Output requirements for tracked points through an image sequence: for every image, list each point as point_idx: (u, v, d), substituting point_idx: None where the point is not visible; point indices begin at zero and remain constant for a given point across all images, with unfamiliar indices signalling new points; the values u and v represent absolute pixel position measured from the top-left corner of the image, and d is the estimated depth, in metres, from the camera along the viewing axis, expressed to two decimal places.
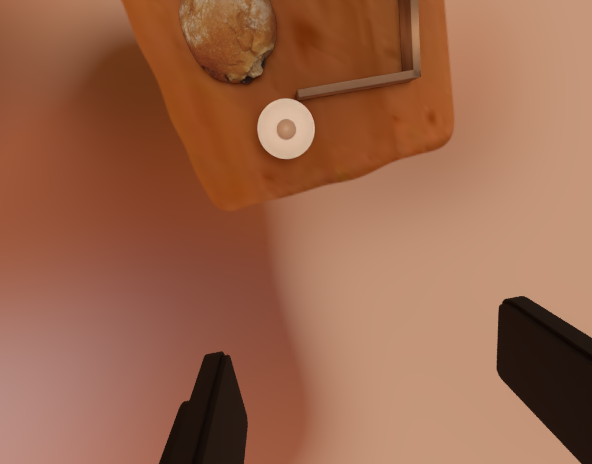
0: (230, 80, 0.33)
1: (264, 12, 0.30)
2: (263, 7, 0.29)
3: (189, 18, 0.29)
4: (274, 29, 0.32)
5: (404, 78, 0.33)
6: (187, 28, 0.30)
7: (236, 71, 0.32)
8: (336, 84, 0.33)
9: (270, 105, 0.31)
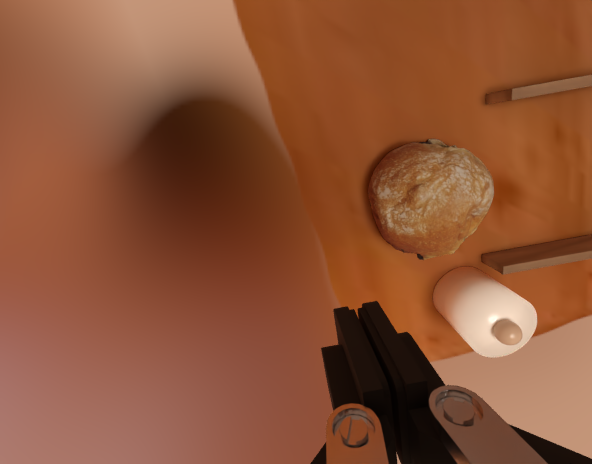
0: (423, 259, 0.27)
1: (492, 197, 0.24)
2: (492, 192, 0.23)
3: (400, 208, 0.23)
4: None
5: None
6: (390, 214, 0.24)
7: (438, 255, 0.26)
8: (550, 259, 0.27)
9: (489, 304, 0.25)
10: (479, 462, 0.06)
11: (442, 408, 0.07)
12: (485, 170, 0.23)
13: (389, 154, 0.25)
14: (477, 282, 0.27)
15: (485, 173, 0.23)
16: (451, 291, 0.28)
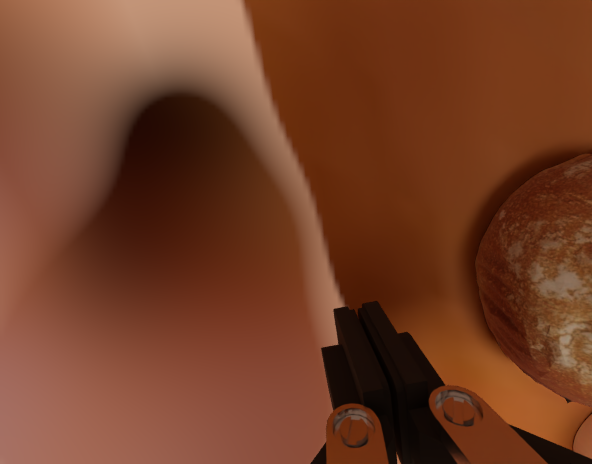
0: None
1: None
2: None
3: None
4: None
5: None
6: (570, 339, 0.09)
7: None
8: None
9: None
10: (479, 462, 0.06)
11: (442, 408, 0.07)
12: None
13: (553, 179, 0.10)
14: None
15: None
16: None
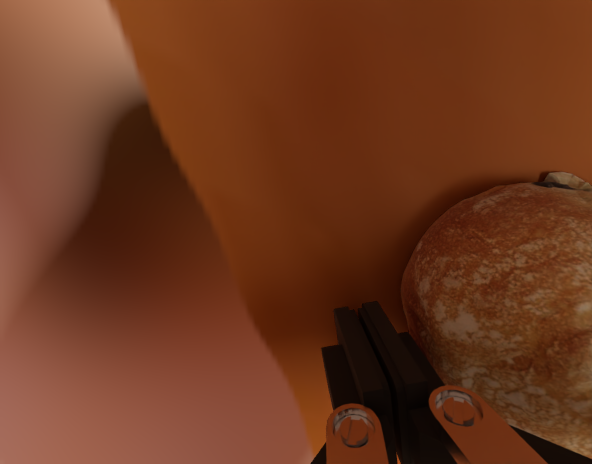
0: None
1: None
2: None
3: (511, 381, 0.08)
4: None
5: None
6: (472, 382, 0.09)
7: None
8: None
9: None
10: (479, 462, 0.06)
11: (442, 408, 0.07)
12: None
13: (463, 212, 0.10)
14: None
15: None
16: None
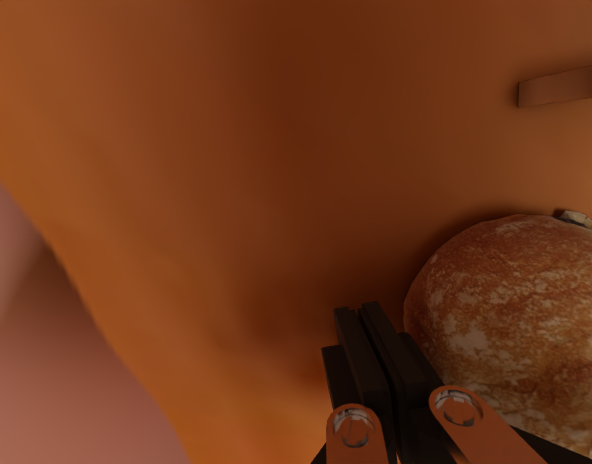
0: None
1: None
2: None
3: (511, 402, 0.08)
4: None
5: None
6: None
7: None
8: None
9: None
10: (479, 462, 0.06)
11: (442, 408, 0.07)
12: None
13: (484, 232, 0.10)
14: None
15: None
16: None
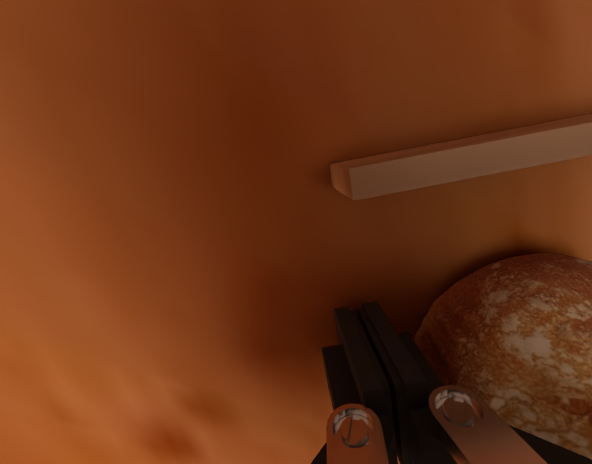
0: None
1: None
2: None
3: (554, 420, 0.08)
4: None
5: None
6: (502, 405, 0.08)
7: None
8: None
9: None
10: (478, 462, 0.06)
11: (442, 408, 0.07)
12: None
13: (562, 258, 0.10)
14: None
15: None
16: None
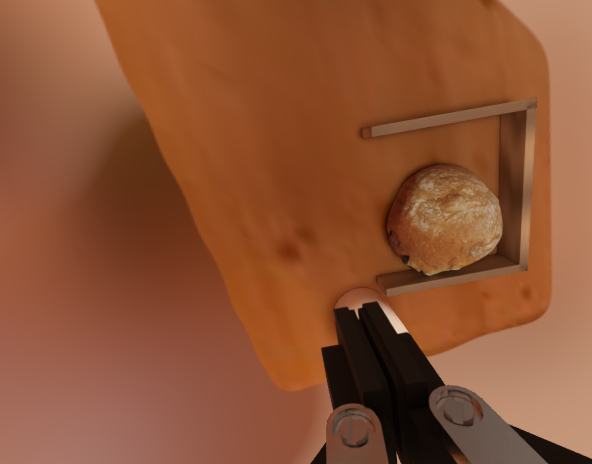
0: (406, 264, 0.28)
1: (491, 250, 0.27)
2: (494, 246, 0.26)
3: (432, 204, 0.25)
4: None
5: (508, 273, 0.29)
6: (418, 204, 0.26)
7: (421, 267, 0.28)
8: (430, 282, 0.29)
9: None
10: (479, 462, 0.06)
11: (442, 408, 0.07)
12: (502, 226, 0.26)
13: (446, 164, 0.27)
14: None
15: None
16: None
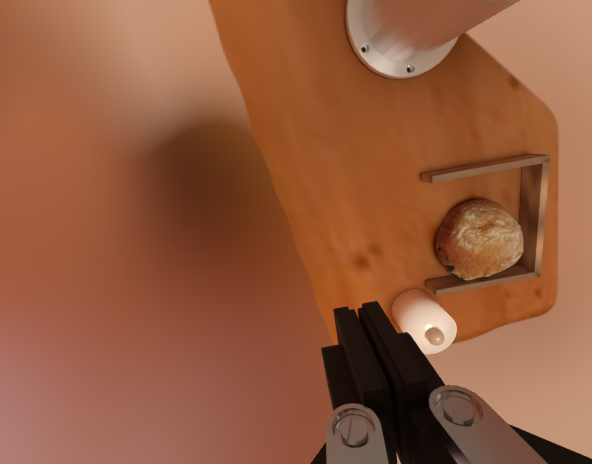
0: (451, 272, 0.38)
1: (515, 262, 0.37)
2: (517, 260, 0.36)
3: (474, 231, 0.35)
4: None
5: (526, 278, 0.39)
6: (463, 230, 0.36)
7: (463, 274, 0.38)
8: (469, 285, 0.39)
9: (422, 317, 0.36)
10: (479, 462, 0.06)
11: (442, 408, 0.07)
12: (523, 245, 0.36)
13: (482, 199, 0.37)
14: (418, 301, 0.39)
15: None
16: (401, 307, 0.40)
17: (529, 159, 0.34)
